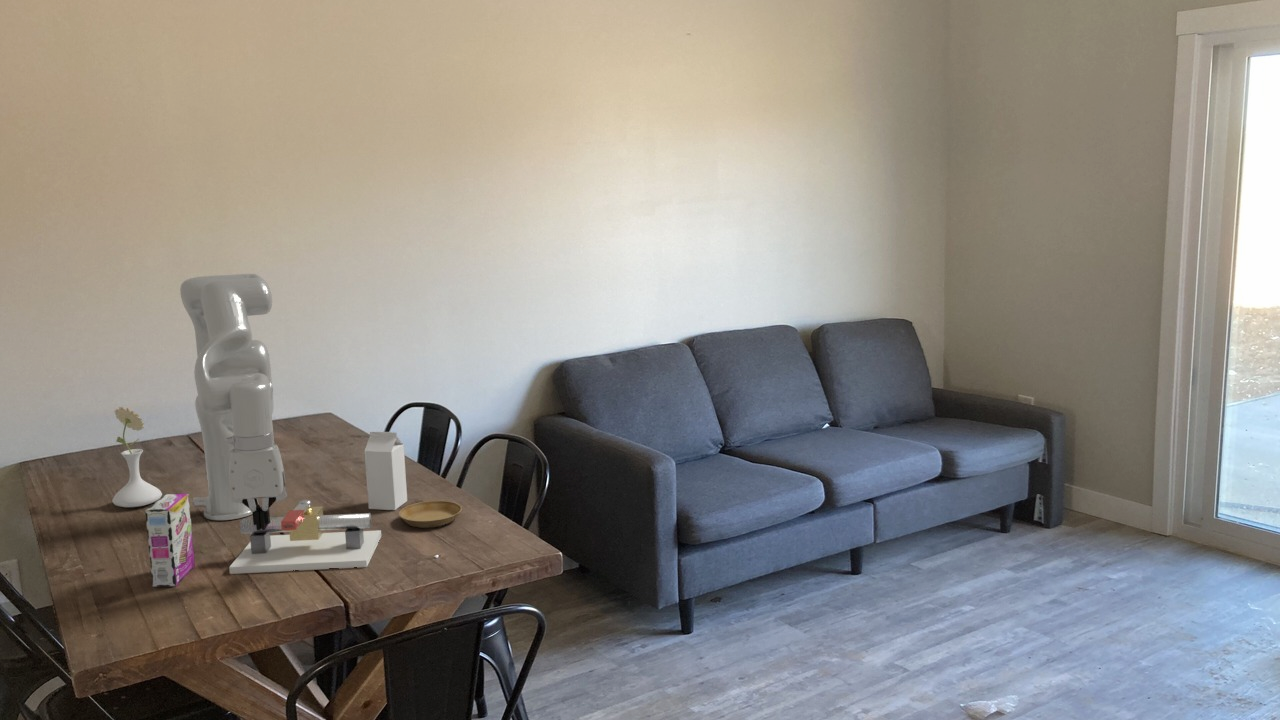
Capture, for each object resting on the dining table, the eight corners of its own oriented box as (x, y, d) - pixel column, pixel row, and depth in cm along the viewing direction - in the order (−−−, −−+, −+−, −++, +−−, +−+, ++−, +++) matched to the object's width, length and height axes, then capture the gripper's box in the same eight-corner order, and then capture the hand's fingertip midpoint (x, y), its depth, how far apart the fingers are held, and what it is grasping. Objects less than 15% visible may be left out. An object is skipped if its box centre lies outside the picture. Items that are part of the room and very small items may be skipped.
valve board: (229, 573, 206) (229, 567, 206) (255, 542, 224) (254, 536, 223) (366, 567, 208) (366, 560, 208) (381, 536, 226) (380, 530, 226)
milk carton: (395, 510, 243) (390, 436, 240) (368, 509, 245) (363, 435, 241) (407, 501, 250) (402, 428, 247) (381, 500, 251) (376, 427, 248)
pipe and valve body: (240, 555, 212) (236, 515, 210) (248, 546, 217) (245, 507, 216) (369, 549, 214) (366, 509, 212) (373, 540, 220) (371, 501, 218)
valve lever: (281, 530, 201) (280, 521, 200) (299, 506, 215) (299, 498, 215) (295, 529, 201) (295, 521, 201) (313, 505, 215) (312, 498, 215)
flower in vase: (170, 502, 253) (159, 407, 248) (123, 514, 244) (111, 416, 240) (149, 492, 261) (139, 400, 257) (103, 503, 253) (91, 408, 249)
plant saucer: (408, 510, 244) (408, 500, 244) (468, 510, 244) (467, 499, 243) (391, 531, 230) (391, 521, 229) (454, 531, 229) (454, 520, 229)
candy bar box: (177, 587, 200) (169, 509, 197) (152, 588, 200) (143, 510, 196) (197, 565, 211) (189, 492, 208) (173, 567, 210) (164, 493, 207)
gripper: (210, 448, 196) (219, 536, 199) (289, 444, 198) (296, 531, 201) (220, 439, 203) (228, 524, 206) (296, 434, 205) (303, 519, 209)
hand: (262, 527), depth 204 cm, fingers closed
